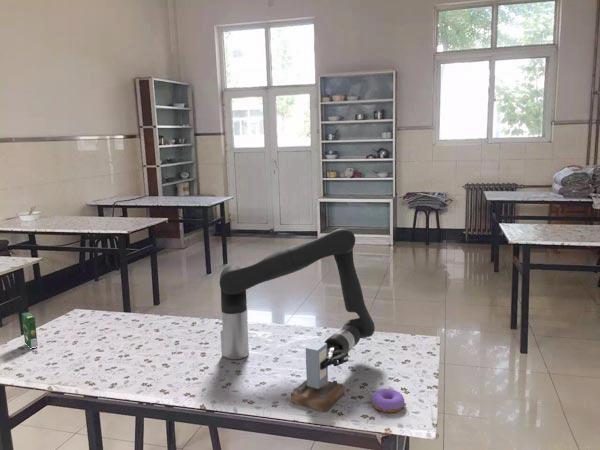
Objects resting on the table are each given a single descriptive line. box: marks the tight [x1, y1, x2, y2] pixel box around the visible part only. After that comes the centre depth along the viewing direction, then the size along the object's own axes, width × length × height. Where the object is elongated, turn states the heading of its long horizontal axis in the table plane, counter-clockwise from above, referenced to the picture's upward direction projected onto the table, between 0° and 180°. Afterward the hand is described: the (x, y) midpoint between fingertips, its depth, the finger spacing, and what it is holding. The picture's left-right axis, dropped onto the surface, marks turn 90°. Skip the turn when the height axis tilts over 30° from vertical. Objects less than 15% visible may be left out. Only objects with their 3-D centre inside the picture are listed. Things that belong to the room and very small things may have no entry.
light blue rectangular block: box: [305, 340, 329, 389], centre depth 152 cm, size 4×6×12 cm
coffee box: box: [21, 312, 39, 349], centre depth 200 cm, size 8×3×13 cm, turn 44°
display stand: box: [290, 379, 345, 413], centre depth 153 cm, size 12×12×4 cm
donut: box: [371, 388, 405, 413], centre depth 148 cm, size 10×9×5 cm
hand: (314, 365), depth 150 cm, fingers closed on light blue rectangular block, 4 cm apart
